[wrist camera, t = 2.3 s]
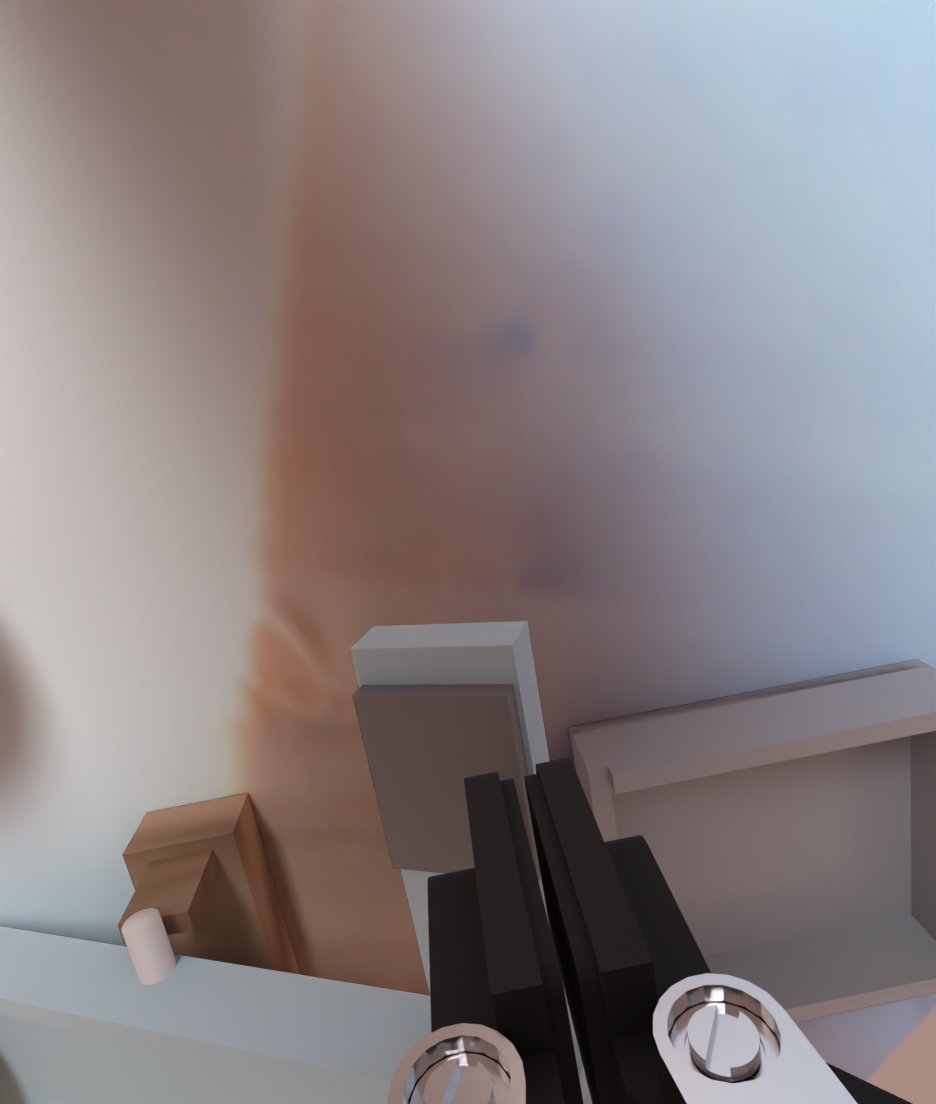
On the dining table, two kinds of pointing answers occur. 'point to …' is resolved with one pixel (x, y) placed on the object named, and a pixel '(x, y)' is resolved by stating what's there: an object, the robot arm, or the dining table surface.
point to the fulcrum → (210, 884)
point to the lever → (273, 996)
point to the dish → (789, 829)
